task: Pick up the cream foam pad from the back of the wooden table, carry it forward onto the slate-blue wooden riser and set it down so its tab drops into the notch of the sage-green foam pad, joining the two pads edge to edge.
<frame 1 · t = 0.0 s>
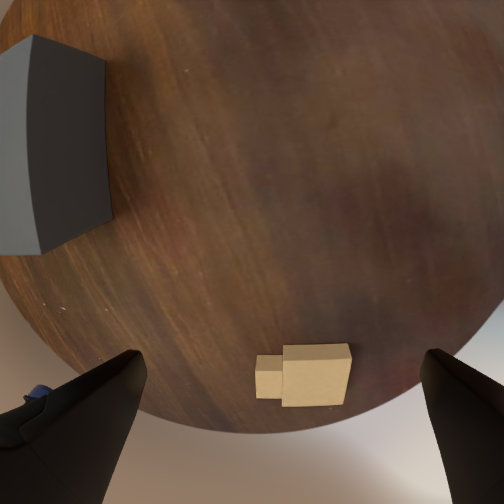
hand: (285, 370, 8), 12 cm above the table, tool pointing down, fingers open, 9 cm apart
cream pad: (313, 368, 23), on the table
riser: (40, 153, 19), on the table
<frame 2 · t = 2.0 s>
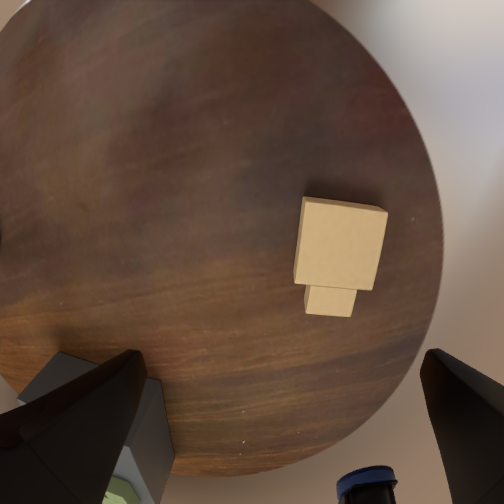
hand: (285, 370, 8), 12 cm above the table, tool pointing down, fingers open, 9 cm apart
cream pad: (336, 239, 19), on the table
green pad: (97, 478, 21), resting on riser
riser: (117, 411, 27), on the table
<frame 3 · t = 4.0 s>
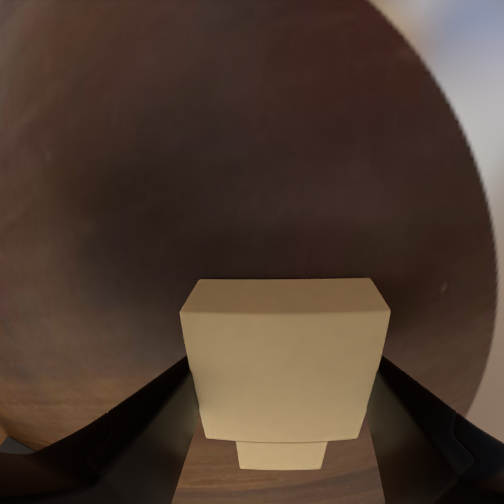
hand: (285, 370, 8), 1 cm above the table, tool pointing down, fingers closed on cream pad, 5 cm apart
cream pad: (284, 349, 9), on the table, touching gripper
riser: (82, 494, 18), on the table
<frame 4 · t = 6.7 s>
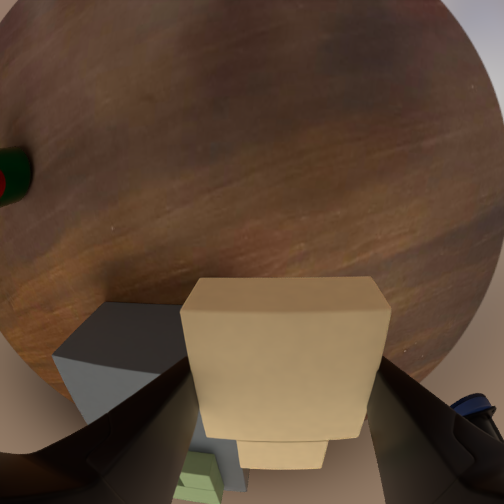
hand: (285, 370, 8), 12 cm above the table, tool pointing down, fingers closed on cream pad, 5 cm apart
cream pad: (285, 348, 9), point 11 cm above the table, touching gripper
green pad: (165, 462, 18), resting on riser
riser: (183, 372, 25), on the table
soda can: (19, 173, 20), on the table
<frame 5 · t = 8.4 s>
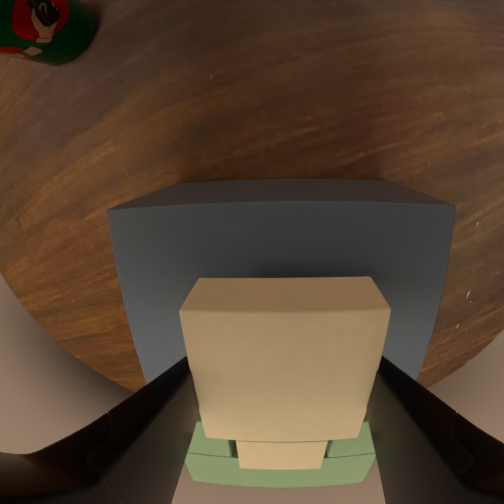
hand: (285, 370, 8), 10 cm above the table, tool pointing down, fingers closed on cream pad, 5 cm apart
cream pad: (284, 348, 9), point 9 cm above the table, touching gripper
green pad: (280, 425, 12), resting on riser
riser: (282, 293, 19), on the table
soda can: (73, 36, 14), on the table
when the fingers open (9 cm above the table, at t = 9.2 s): cream pad stays where it is, resting on riser.
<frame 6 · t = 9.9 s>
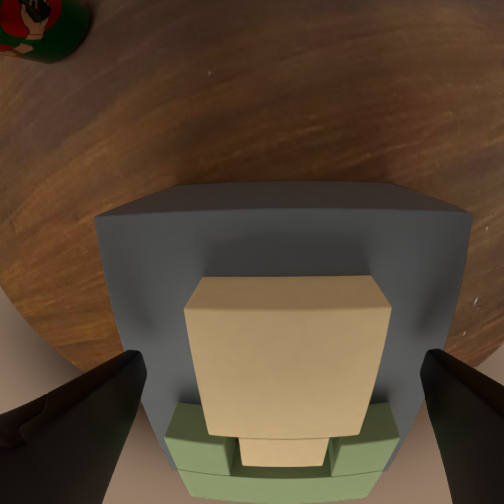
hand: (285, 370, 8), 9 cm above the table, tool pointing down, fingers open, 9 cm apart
cream pad: (286, 346, 9), point 8 cm above the table, touching riser
green pad: (282, 442, 11), resting on riser
riser: (284, 301, 18), on the table
soda can: (67, 33, 13), on the table
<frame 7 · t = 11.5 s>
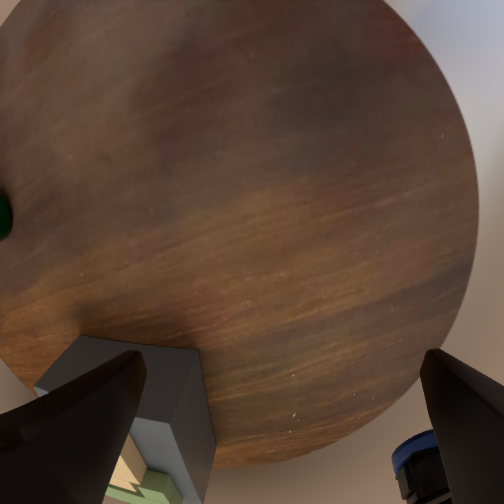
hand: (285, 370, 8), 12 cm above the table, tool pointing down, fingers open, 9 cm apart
cream pad: (110, 442, 18), point 8 cm above the table, touching riser
green pad: (131, 476, 19), resting on riser
riser: (150, 398, 26), on the table
soda can: (1, 214, 21), on the table
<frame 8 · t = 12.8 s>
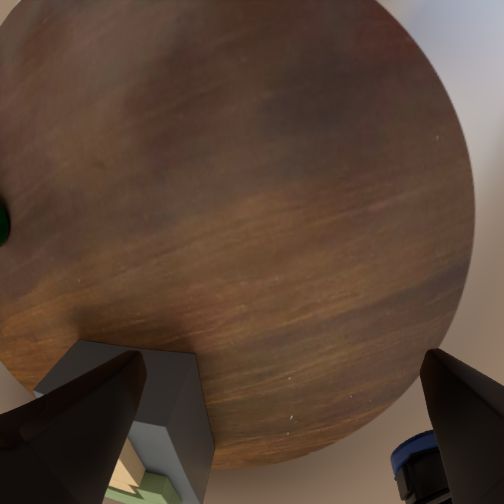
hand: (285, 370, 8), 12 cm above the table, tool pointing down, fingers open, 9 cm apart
cream pad: (109, 445, 18), point 8 cm above the table, touching riser
green pad: (130, 478, 19), resting on riser
riser: (148, 401, 26), on the table
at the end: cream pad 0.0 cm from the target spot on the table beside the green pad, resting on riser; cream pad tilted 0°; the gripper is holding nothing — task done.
